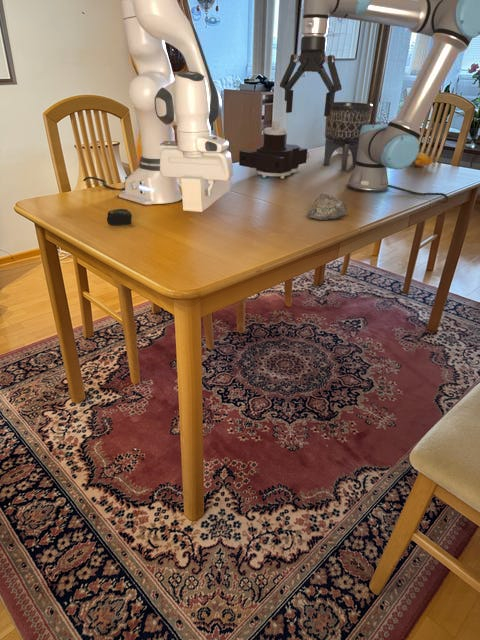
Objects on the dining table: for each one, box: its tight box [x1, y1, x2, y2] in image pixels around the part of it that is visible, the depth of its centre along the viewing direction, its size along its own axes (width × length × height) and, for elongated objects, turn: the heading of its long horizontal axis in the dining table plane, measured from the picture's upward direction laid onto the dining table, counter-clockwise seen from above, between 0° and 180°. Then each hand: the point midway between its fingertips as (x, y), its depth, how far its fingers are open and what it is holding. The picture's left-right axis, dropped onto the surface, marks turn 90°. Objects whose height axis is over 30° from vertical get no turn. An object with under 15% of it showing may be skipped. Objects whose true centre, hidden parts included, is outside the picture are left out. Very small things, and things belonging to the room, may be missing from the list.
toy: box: [411, 151, 434, 168], centre depth 216 cm, size 11×6×15 cm
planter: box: [323, 101, 374, 172], centre depth 204 cm, size 20×20×26 cm
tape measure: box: [106, 208, 133, 227], centre depth 132 cm, size 7×7×4 cm
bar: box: [180, 176, 232, 213], centre depth 133 cm, size 25×6×9 cm, turn 163°
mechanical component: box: [238, 120, 311, 179], centre depth 191 cm, size 22×21×30 cm
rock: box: [307, 192, 348, 221], centre depth 142 cm, size 13×9×6 cm, turn 131°
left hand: (197, 194), depth 126 cm, fingers closed on bar, 5 cm apart
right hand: (307, 114), depth 145 cm, fingers open, 13 cm apart
